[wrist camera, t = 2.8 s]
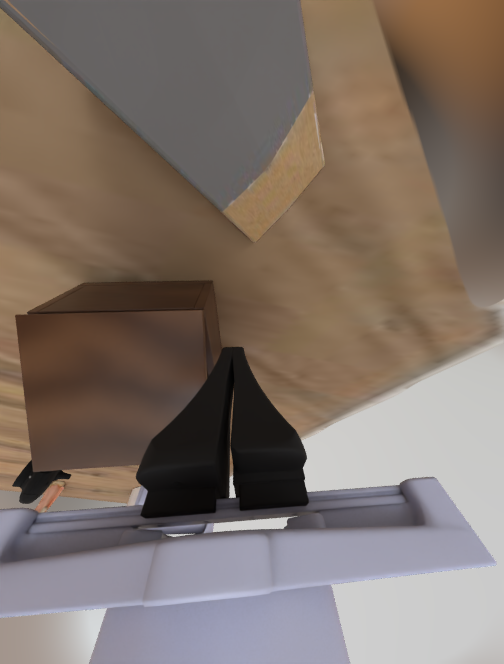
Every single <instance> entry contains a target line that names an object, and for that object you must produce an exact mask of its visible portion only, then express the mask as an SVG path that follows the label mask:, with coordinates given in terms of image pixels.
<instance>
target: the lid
mask: <svg viewBox="0 0 504 664" xmlns="http://www.w3.org/2000/svg"><path fill="white" fill-rule="evenodd" d="M15 318H16V326H17V335H18V344H19V352H20V361H21V370H22V379H23V387H24V396H25V405H26V413H27V422H28V431H29V440H30V448H31V457H32V466H33V472H40V471H55V470H69V469H84V468H99V467H114V466H129V465H140V463H141V461H142V458H143V456H144V454H145V452H146V450H147V447H148V446H149V444H150V442H151V440H152V439H153V438H154V437H155V436H156V435H157V434H158V433H159V432H161V431H162V430H163V429H164V428H165V427H166V426H167V425H168V424H169V423H170V422H171V421H172V420H173V419H174V418H175V417H176V416H177V415H178V414H179V413H180V412H181V411H182V410H183V409H184V408H185V407H186V406H187V405H188V403H189V402H190V401H191V400H192V399H193V397H194V396H195V395H196V394H197V392H198V391H199V390H200V388H201V387H202V386H203V384H204V383H205V381H206V380H207V362H206V341H205V320H204V310H175V311H138V312H101V313H64V314H27V315H15Z"/></svg>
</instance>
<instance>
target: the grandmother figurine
mask: <svg viewBox="0 0 504 664" xmlns="http://www.w3.org/2000/svg"><path fill="white" fill-rule="evenodd" d="M64 484H65V482H61V481H54V482H53V483H51V484H50V486H49V487H50V488H48V489H47V491H46V492H45V494H44V496H43V498H42V499H41V501H40V503H39V505H38V506H37V507H36V509H35V510H36V511H38V513H43V512H46V511H47V510H48V508H49V507H50V506H51V505H52V504H53V502H54V501H55V500H56V499H57V497H58V496H59V495H60V493H61V492H62V490H63V489H64V487H62V486H63V485H64Z"/></svg>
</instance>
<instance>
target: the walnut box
mask: <svg viewBox="0 0 504 664" xmlns="http://www.w3.org/2000/svg"><path fill="white" fill-rule="evenodd" d="M175 310H204V320H205V341H206V362H207V378H208V376H209V375H210V373H211V372H212V370H213V368H214V366H215V364H216V363H217V360H218V358H219V356H220V354H221V351H222V347H221V339H220V331H219V323H218V315H217V307H216V300H215V292H214V284H213V281H163V282H111V283H82V284H80V285H78V286H77V287H75V288H73V289H71V290H69V291H67V292H65V293H63V294H61V295H59V296H57V297H55V298H53V299H52V300H50V301H48V302H46V303H44V304H42V305H40V306H38V307H36V308H34V309H32V310H30V311H28V312H27V314H64V313H101V312H138V311H175Z"/></svg>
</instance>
